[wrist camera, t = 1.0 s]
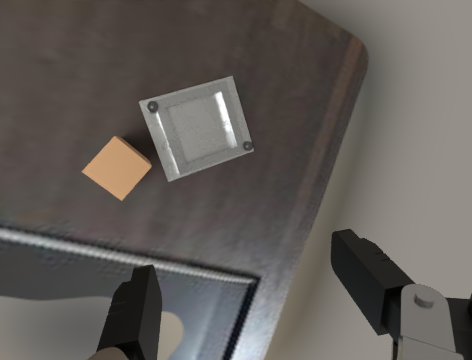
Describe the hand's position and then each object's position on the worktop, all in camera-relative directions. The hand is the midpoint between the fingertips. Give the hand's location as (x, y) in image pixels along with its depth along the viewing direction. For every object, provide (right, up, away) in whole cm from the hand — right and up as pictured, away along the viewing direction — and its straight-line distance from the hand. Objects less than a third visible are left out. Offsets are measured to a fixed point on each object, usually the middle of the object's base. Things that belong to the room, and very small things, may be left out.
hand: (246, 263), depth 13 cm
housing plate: (-5, +10, +24) cm, 26 cm away
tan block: (-14, +6, +21) cm, 26 cm away
